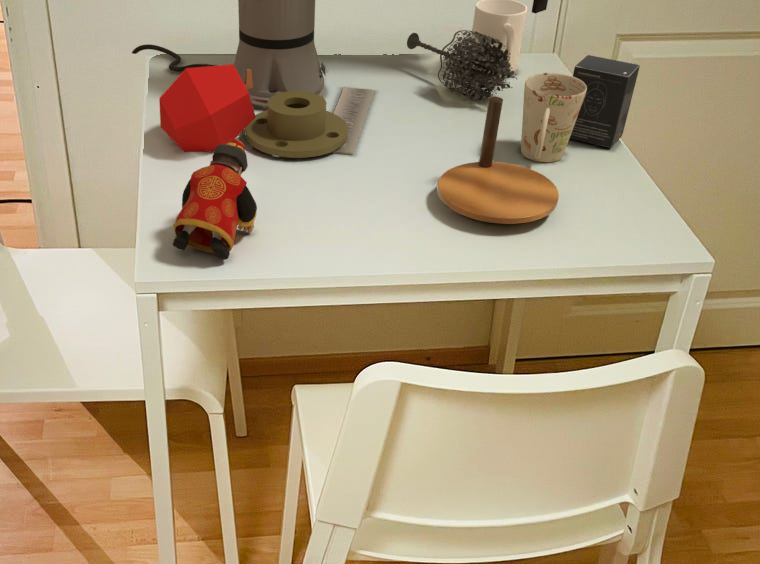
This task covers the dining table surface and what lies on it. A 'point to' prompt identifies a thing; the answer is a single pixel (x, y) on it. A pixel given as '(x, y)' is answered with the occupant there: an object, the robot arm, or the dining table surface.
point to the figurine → (216, 203)
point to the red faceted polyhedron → (206, 107)
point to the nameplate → (352, 115)
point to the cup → (501, 25)
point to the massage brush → (471, 64)
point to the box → (604, 99)
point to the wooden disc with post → (497, 184)
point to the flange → (297, 126)
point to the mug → (549, 114)
